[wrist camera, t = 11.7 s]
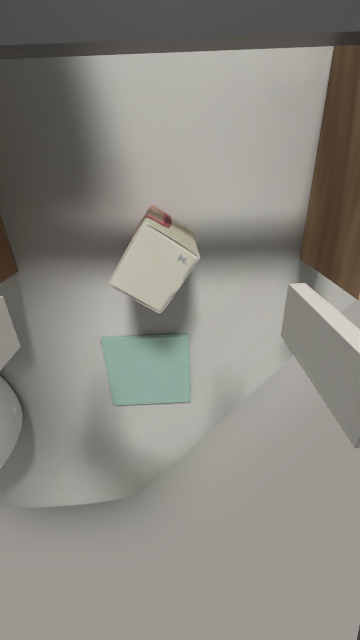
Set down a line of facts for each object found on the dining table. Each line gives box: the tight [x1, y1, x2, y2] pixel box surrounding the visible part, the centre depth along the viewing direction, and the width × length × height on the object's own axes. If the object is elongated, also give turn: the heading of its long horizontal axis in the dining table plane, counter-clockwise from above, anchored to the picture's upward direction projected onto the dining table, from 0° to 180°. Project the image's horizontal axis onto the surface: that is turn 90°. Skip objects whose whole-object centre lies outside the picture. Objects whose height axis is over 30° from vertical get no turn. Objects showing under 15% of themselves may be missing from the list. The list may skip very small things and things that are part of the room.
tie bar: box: [0, 0, 360, 59], centre depth 11 cm, size 29×2×2 cm, turn 92°
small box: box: [108, 205, 200, 313], centre depth 22 cm, size 5×4×8 cm
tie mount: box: [0, 45, 360, 300], centre depth 19 cm, size 30×16×9 cm, turn 92°
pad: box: [101, 333, 190, 405], centre depth 32 cm, size 9×9×1 cm
